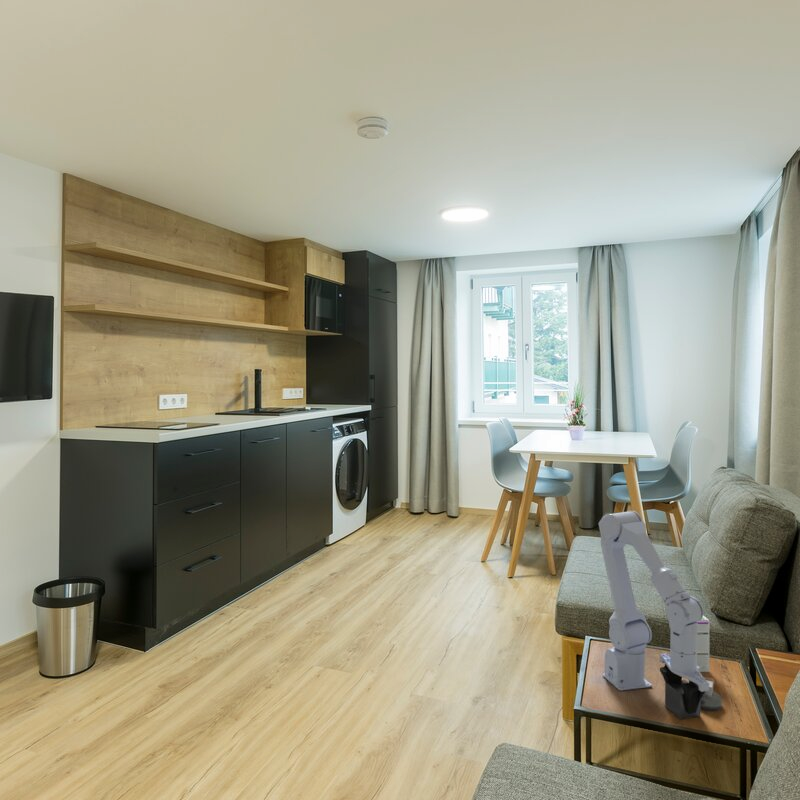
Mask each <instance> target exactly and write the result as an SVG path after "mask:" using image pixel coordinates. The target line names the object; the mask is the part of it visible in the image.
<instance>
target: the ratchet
mask: <svg viewBox="0 0 800 800" xmlns="http://www.w3.org/2000/svg"><path fill="white" fill-rule="evenodd" d="M703 677H704V679H705V680H706V681H708V682H709V691H706V692H705V693H704V695H703V696H702V698H701V710H703V711H708V712H719V711H720V710H721V709H722V708H723V706H722V703H723V702H722V701H723V699H722V696H721V695H720V694H719V693H717V692H716V691H714V689H715V688H714V687H715V678H712V677H708V676H703Z"/></svg>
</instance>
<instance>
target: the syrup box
mask: <svg viewBox="0 0 800 800" xmlns="http://www.w3.org/2000/svg"><path fill="white" fill-rule="evenodd" d="M695 623H698V627H697V666H699V667H700V671H699V672H700V673H710V619H708V618H707V617H706V616H705V615H703V617H702V619H701V620H700V621H698V622H695Z"/></svg>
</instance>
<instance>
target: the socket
mask: <svg viewBox="0 0 800 800" xmlns="http://www.w3.org/2000/svg"><path fill="white" fill-rule="evenodd" d="M664 682H665V681H664ZM681 683H689V681H688V680H687V679H682V680H678V681H670V682H665V683H664V684H665V685H664V687H665V688H664V693H665V694H664V707H665V708H666V709H667V710H669V711H670V712H671V713H672V714H673V715H675V716H676V717H677V718H678V719H680V720H684V719H691V718H698V717H699V718H700V717H701V710H702V709H701V700H700V702H699V705H698V708H697V711H696V713H692V714H688V713H687V711H686V705H685V695H684V691H683V688H682V686H681Z"/></svg>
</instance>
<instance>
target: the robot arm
mask: <svg viewBox="0 0 800 800" xmlns="http://www.w3.org/2000/svg"><path fill="white" fill-rule="evenodd" d="M598 528H599V533H600V547H601V552H602V555H603V561H604V567H605V571H606V575H607V580H608V584H609V589H610V593H611V599H612V602H613V608H614V609H613V610H614V611H613V613H612V614H611V616H610V617H609V620H608V624H609V630H608V636H609V640H610V643H611V644H612V645H613V647H611V648H608V649H606V651H605V653H604V673H603V674H602V676H603V677H604V678H605V679H606V680H608V682H609V683H611V685H613V686H614V688H616V689H617V690H618V691H627V690H628V691H629V690H637V689H643V688H644V689H645V688H651V687H653V684H652V683H650V682H649V681H648V680H647V679H645V675H646V674H645V672H646V668H645V667H646V665H645V664H646V663H645V662H646V649H647V647H648V646H647V644H649V643H650V642H651V641H652V636H653V633H652V632H653V631H652V630H651V627H650V625H649V624H648V622H647V620H646V615H645V614H644V613H643V612H642V611H640V610H639V609H638V608H637V604H636V600H635V595H634V591H633V587H632V586H633V585H632V582H631V577H630V573H629V568H628V564H627V559H626V555H625V550H624V547H625V546H626V545H627V546H631V547H633V549H634V550H635V552H636V553H637V555H638V556H639V557H640V558H641V560H642V561H643V563H644V564H645V566H646V567H647V568H648V569H649V571H650V572H651V576H650V577H651V578H650V581H651V583H652V585H653V587H654V588H655V590H656V591H657V593H658V595H659V596H660V598H661V599H662V601H663V603H664V604H665V605H666V607H667V608H665V609H664V612H665V616H666V618H667V620H668V624H669V625H668V627H669V629H670V641H669V642H670V643H669V644H670V646H669V647H670V650H669V651H670V652H669V653H667V652H666V653H659V662H660V664H664V666H662V667H659V672H660V674H661V676H662V677H663V680H664V682H670V681H678V680H683V678H684V680H686V681H688V682H689V683H681V686H682V688H683V691H684V695H685V705H686V711H687V713H688V714H692V713H696V711H697V708H698V705H699V702H700V700H701V698H702V696H703V695H704V693H705V692H706V691H709V682H708V681H706V680H705V679H704V677H705V676H703V674H702V672H699V671H700V667H699V666H697V627H698V623H695V622H698V621H700V620H701V619H702V617H703V616H704V610H703V607H702V604H701V603H700V601H699V600H698V599H697V598H696V597H695V596H692V595H691V594H690V593H689V592H687V591H686V589H685V587H684V586H683V584H682V583H681V582H680V580H679V577H678V574H676V572H674V571H673V570H672V569H671V568H669V567H666V566H665V565H664V564H663V561H662V559H661V558H660V556H659V554H658V552H657V550H656V549H655V546H654V545H653V543H652V541H651V540H650V537H649V536H648V534H647V525H646V523H645V522H644V520H643V519H642V516H641V514H639V512H637V511H635V510H628V511H622V512H615V513H605V514H604V515H603V516H602V517H601V519H600V520H599V522H598Z"/></svg>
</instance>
